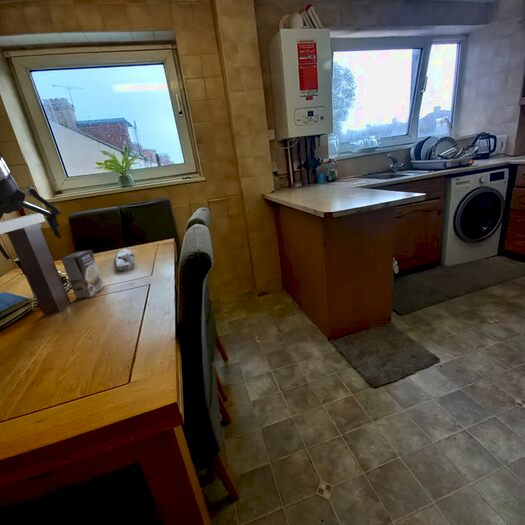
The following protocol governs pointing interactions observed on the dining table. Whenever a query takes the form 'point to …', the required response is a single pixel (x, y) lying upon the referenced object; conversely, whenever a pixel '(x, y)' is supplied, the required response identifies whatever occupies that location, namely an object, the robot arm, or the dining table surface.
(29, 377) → the dining table surface
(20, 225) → the switch bar
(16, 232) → the walnut post
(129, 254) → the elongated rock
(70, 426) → the dining table surface
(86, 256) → the coffee box
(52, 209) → the robot arm
